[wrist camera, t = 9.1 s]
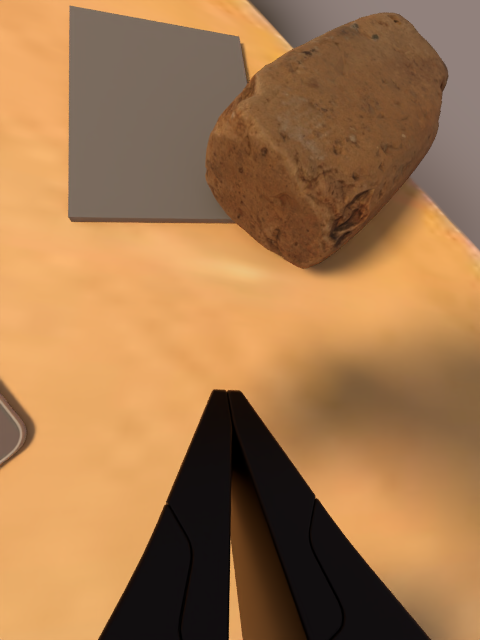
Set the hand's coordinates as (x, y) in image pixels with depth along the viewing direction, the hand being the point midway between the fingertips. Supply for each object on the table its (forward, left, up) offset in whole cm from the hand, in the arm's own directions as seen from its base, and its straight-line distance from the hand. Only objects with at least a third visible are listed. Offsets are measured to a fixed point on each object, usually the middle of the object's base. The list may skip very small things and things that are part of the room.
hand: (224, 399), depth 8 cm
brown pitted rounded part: (+10, -4, -5) cm, 12 cm away
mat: (+22, 0, -10) cm, 24 cm away
